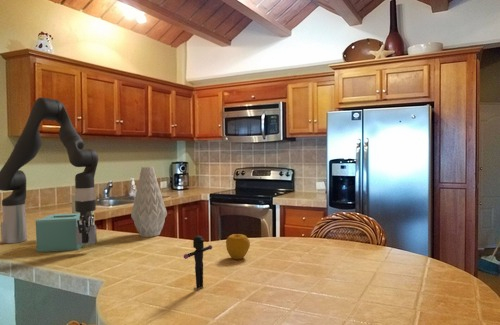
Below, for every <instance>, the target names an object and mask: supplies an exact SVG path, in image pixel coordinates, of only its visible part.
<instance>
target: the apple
mask: <svg viewBox="0 0 500 325" xmlns="http://www.w3.org/2000/svg"><path fill="white" fill-rule="evenodd" d="M250 242H251V241H250V239H249V238H248V237H247V235H245V234H242V233H233V234H231V235H229V236H228V237H226V241H225V248H226V250H227V253H228V254H229V255H228V256H230V258H231V259H234V260H242V259H244V257H245V256H246V255H247V254H248V251H249V249H250V246H251V243H250Z"/></svg>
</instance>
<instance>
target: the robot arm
mask: <svg viewBox="0 0 500 325" xmlns="http://www.w3.org/2000/svg"><path fill="white" fill-rule="evenodd" d="M44 120H45V121H46V120H47V121H52V122H53V121H55V122H56V123H57V124H58V125H59V127H60V128H59V130H58V137H59V140H60V141H61V143H62V144H63V146H64V148H66V153H67V156H68V162H69V163H70V164H71V165H72V166H73V167H75V168H83V167H84V170H83V171H82V172H79V173H77V174H75V177H74V183H75V184H74V188H75V190H74V194H75V211H76V212H80V217H79V220H77V224H78V229H79V233H81V234H82V243H88V228H89V227H90V225H93V222H94V223H95V214H94V215H92V213H91V211H94V212H95V211H96V209H97V208H96V207H97V205H96V200H97V199H96V190H95V189H96V188H95V176H96V170H97V167H98V164H99V163H98V162H99V155H98V153H97V151H96V150H95V149H92V148H89V149H88V148H84V147H85V142H84V140H83V138H82V137H81V136H80V134H79V133H78V131H77V130H76V129H75V127H74V125H73V122H72V121H71V118H70V116H69V114H68V111H67V109H66V107H65V105H64V103H63V102H62V101H61V100H57V99H54V98H49V97H48V98H47V97H39V98H37V99H36V100H35V101H34V103H33V105H32V106H31V110H30V113H29V116H28V118H27V121H26V123H25V125H24V128H23V129H22V131H21V133H20V136H19V137H18V139H17V141H16V143H15V145H14V148H13V149H12V151H11V152H10V155H9V156H8V159H7V160H6V162H5V163H4V165H3V166H2V167H1V169H0V191H2V192H5V191H6V192H8V191H12V192H11V193H10V194H9V196H7V197H5V198H2V200H1V212H2V221H1V222H0V232H1V233H0V236H1V244H15V243H16V244H17V243H18V244H19V243H22V242H25V241H27V237H28V235H27V216H26V210H27V209H26V199H27V176H26V173H25V172H24V171H23V170H20V169H21V168H22V167H24V166H25V165H27V164H28V163H29V162H31V161H32V160H34V159H35V157H36V156H37V155H38V153H39V151H40V150H41V148H42V145H43V141H42V137H41V133H40V126H41V123H42V122H43V121H44ZM83 229H84V230H83Z"/></svg>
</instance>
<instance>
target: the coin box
mask: <svg viewBox="0 0 500 325" xmlns="http://www.w3.org/2000/svg"><path fill="white" fill-rule="evenodd" d="M79 217H80V213H72V212H71V213H55V214H49V215H47V216H46V215H45V216H44V217H41V218H39V219H36V220H35V236H36V253H44V252H62V251H63V252H64V251H78V250H79V249H81V248H82V247H83V245H84V246H85V245H86V244H83V245H76V227H77V226H78V224H77V220H79Z"/></svg>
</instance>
